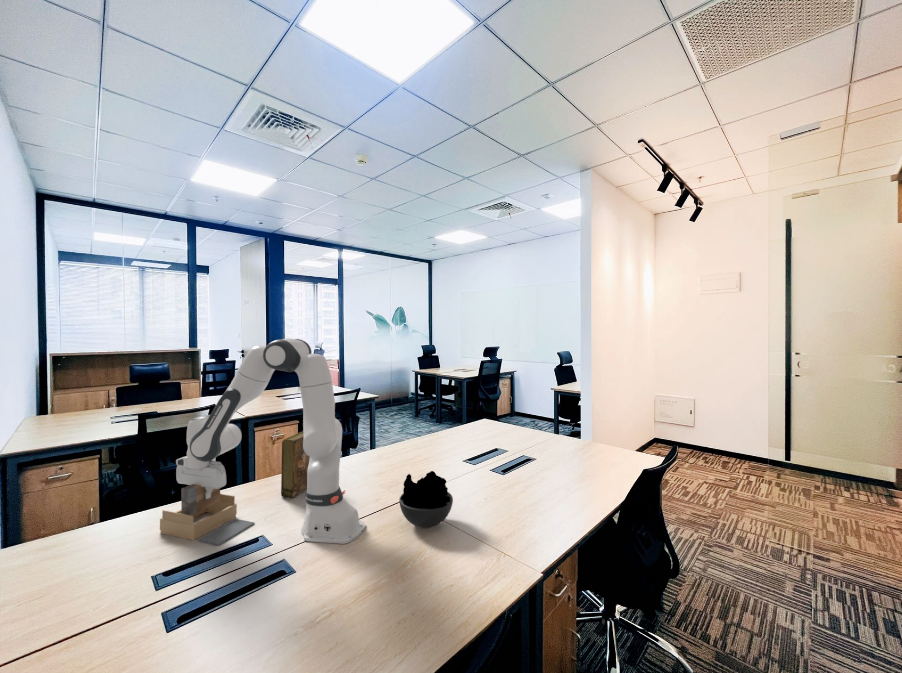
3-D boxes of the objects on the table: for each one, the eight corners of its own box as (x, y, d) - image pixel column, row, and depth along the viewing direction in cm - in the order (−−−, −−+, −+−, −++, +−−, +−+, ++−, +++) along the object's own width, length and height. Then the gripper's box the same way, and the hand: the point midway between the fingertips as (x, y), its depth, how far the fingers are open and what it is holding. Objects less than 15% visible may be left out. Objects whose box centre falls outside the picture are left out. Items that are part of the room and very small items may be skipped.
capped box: (220, 500, 141) (220, 477, 141) (190, 515, 130) (189, 489, 130) (212, 499, 143) (212, 476, 143) (181, 513, 131) (181, 488, 131)
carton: (236, 517, 142) (236, 496, 142) (194, 540, 126) (194, 517, 126) (204, 510, 147) (205, 490, 147) (159, 532, 130) (160, 510, 130)
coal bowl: (460, 518, 144) (461, 470, 144) (437, 544, 125) (438, 489, 125) (416, 507, 152) (416, 462, 152) (388, 530, 134) (389, 479, 134)
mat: (254, 524, 137) (254, 522, 137) (218, 545, 123) (218, 544, 123) (235, 520, 140) (235, 518, 140) (197, 541, 125) (197, 539, 125)
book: (303, 483, 175) (304, 430, 175) (314, 484, 174) (314, 431, 174) (281, 498, 159) (281, 440, 159) (292, 499, 158) (293, 440, 158)
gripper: (230, 459, 136) (231, 497, 136) (189, 454, 142) (189, 490, 142) (215, 465, 130) (215, 504, 130) (172, 459, 136) (172, 497, 136)
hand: (201, 497), depth 136 cm, fingers closed on capped box, 4 cm apart
